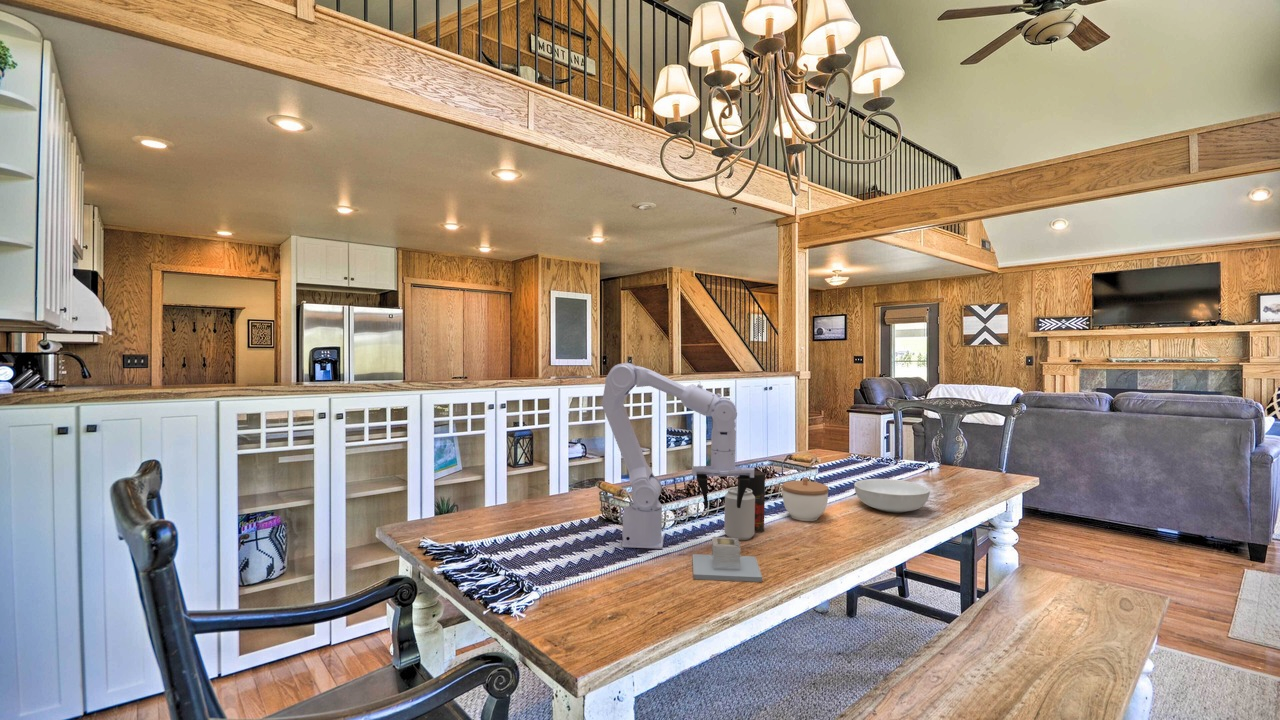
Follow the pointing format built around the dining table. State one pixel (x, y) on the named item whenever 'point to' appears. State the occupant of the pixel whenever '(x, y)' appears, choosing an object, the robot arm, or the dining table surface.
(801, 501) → the lidded bowl
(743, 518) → the can
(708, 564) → the post block
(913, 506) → the serving bowl
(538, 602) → the dining table surface
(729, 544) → the collar
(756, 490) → the deodorant
